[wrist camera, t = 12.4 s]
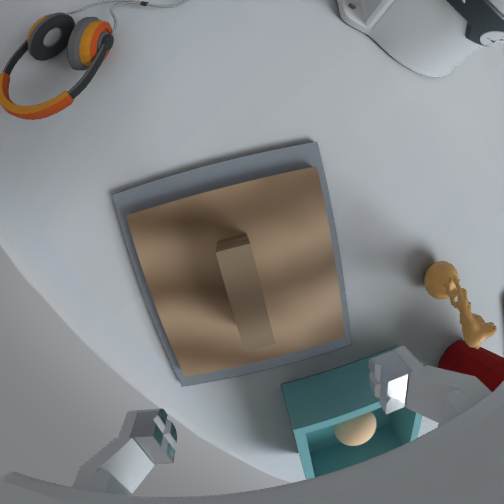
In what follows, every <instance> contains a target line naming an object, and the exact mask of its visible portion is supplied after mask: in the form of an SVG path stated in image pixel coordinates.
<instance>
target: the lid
mask: <svg viewBox="0 0 504 504" xmlns="http://www.w3.org/2000/svg"><path fill="white" fill-rule="evenodd" d="M126 217H127V221H128V224H129V228H130V231H131V235H132V238H133V241H134V245H135V248H136V251H137V254H138V257H139V260H140V264H141V267H142V270H143V273H144V275H145V278H146V281H147V284H148V287H149V290H150V293H151V295H152V298H153V301H154V304H155V306H156V309H157V312H158V314H159V317H160V319H161V322H162V325H163V327H164V330H165V332H166V335H167V337H168V339H169V342H170V344H171V347H172V349H173V351H174V354H175V356H176V358H177V361H178V363H179V365H180V367H181V370H182V372H183V374H184V376H185V377H187V376H193V375H198V374H204V373H209V372H214V371H219V370H224V369H228V368H233V367H238V366H242V365H246V364H251V363H255V362H259V361H263V360H267V359H271V358H275V357H279V356H282V355H286V354H290V353H293V352H297V351H300V350H304V349H307V348H311V347H314V346H317V345H321V344H324V343H327V342H330V341H333V340H337V339H340V338H343V337H345V330H344V321H343V313H342V305H341V298H340V290H339V283H338V277H337V270H336V264H335V257H334V251H333V246H332V240H331V234H330V229H329V223H328V218H327V213H326V208H325V203H324V198H323V193H322V188H321V184H320V179H319V175H318V170H317V166H316V167H310V168H305V169H301V170H296V171H291V172H286V173H282V174H277V175H273V176H268V177H264V178H260V179H256V180H251V181H247V182H243V183H239V184H235V185H231V186H227V187H223V188H219V189H215V190H212V191H208V192H204V193H200V194H197V195H193V196H190V197H186V198H182V199H179V200H176V201H172V202H169V203H165V204H162V205H159V206H155V207H152V208H149V209H145V210H142V211H139V212H136V213H133V214H130V215H127V216H126Z"/></svg>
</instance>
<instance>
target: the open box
mask: <svg viewBox="0 0 504 504" xmlns="http://www.w3.org/2000/svg"><path fill="white" fill-rule="evenodd" d="M396 348H398V346H395V347H393V348H390V349H388V350H385V351H383V352H380V353H378V354H375V355H373V356H370V357H367V358H365V359H362V360H359V361H356V362H353V363H351V364H348V365H345V366H342V367H339V368H336V369H333V370H330V371H327V372H323V373H320V374H317V375H314V376H310V377H307V378H303V379H300V380H296V381H293V382H289V383H285V384H282V385H281V387H282V391H283V395H284V399H285V403H286V407H287V410H288V414H289V418H290V422H291V426H292V430H293V433H294V437H295V441H296V445H297V449H298V452H299V456H300V460H301V463H302V467H303V471H304V474H305V478H306V480H307V479H311V478H315V477H318V476H322V475H325V474H328V473H332V472H335V471H338V470H341V469H344V468H347V467H350V466H353V465H356V464H359V463H361V462H364V461H367V460H369V459H372V458H374V457H377V456H379V455H382V454H384V453H386V452H389V451H391V450H393V449H395V448H398V447H400V446H402V445H404V444H406V443H408V442H411V441H413V440H415V439H417V436H418V432H419V428H420V424H421V419H422V415H420V414H418V413H416V412H414V411H412V410H410V409H408V408H406V406H405V407H403V408H401V409H398V410H396V411H393V412H391V413H388V414H385V412H384V410H383V409H382V407H381V406H380V404H379V398H378V397H375V396H374V394H373V393H372V390H371V388H370V384H369V374H370V373H371V370H370V369H369V365H368V362H369V359H371V358H374V357H377V356H379V355H382V354H384V353H387V352H389V351H392V350H394V349H396ZM371 411H372V412H373V414H374V416H375V418H376V430H375V432H374V434H373V436H372V437H371V438H370V439H369V440H368V441H367V442H365V443H363V444H361V445H357V446H349V445H345V444H343V443H342V442H340V441H339V440H338V439H337V437H336V435H335V432H334V425H335V424H338V423H341V422H344V421H346V420H349V419H352V418H355V417H357V416H360V415H363V414H365V413H368V412H371Z"/></svg>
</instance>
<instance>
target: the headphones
mask: <svg viewBox="0 0 504 504" xmlns="http://www.w3.org/2000/svg"><path fill="white" fill-rule="evenodd" d="M116 1H123V2H124V3H120V4H117V5H115V6H114V7H112V8H111V9H110V13H111V15H112V16H113V18H114V22H115V25H114V29H113V31H112V28H111V26H110V24H109V23H108V22H105V21H101V20H99V19H98V18H96V17H86V18H83V19H82V20H80V21H79V22H78V23H77V25H76V26H75V23H74V20H73V19H72V17H71V16H69V14H72V13H76V12H79V11H82V10H84V9H86V8H88V7H91V6H94V5H98V4H102V3H107V2H116ZM189 1H190V0H186V1H185V2H182V3H180V4H177V5H170V6H161V5H153V4H148V2H143V1H142V2H139V1H133V0H108V1H103V2H98V3H94V4H91V5H89V6H86V7H84V8H82V9H80V10H77V11H73V12H69V13H66V14H65V13H54V14H50V15H46V16H44V17H43V18H41V19H40V20H38V21H37V22H36V23H35V24H34V26H33V27H32V28H31V30H30V32H29V34H28V39H27V40H26V41H25V42H24V43H23V44H22V45H21V46H20V48H19V49H18V50H17V51H16V52H15V53H14V54H13V56H12V57H11V58H10V60H9V61H8V63H7V65H6V66H5V68H4V71H3V73H2V74H0V104H1V105H2V107H3V108H4V109H5V110H6V111H7V112H8V113H10V114H12V115H14V116H16V117H19V118H23V119H32V120H34V119H41V118H45V117H48V116H51V115H53V114H55V113H57V112H59V111H61V110H63V109H65V108H66V107H68V106H69V105H71V104H72V103H73V99H74V98H75V97H76V96H78V95H79V94H80V93H81V92H82V91H83V90H84V89H85V88H86V86H87V85H88V84H89V82H90V81H91V80H92V78H93V76H94V75H95V73H96V72H97V70H98V68H99V67H100V65H101V63H102V61H103V60H104V59H105V58H106V56H107V55H108V53H109V50H110V49H111V47H112V45H113V41H114V38H113V34H114V32H115V30H116V26H117V19H116V17H115V15H114V13H113V12H112V10H113V9H114V8H115V7H117V6H120V5H124V4H140V5H143V6H152V7H160V8H170V7H177V6H180V5H183V4H185V3H187V2H189ZM67 44H68V45H67ZM66 46H67V56H68V61H69V64H70V66H71V67H72V68H73V69H75V70H86V69H87V71H86V72H85V74H84V75H83V77H82V78H81V79H80V80H79V81H78V82H77V84H76V85H75V86H74V87H72V88H71V89H70V90H69V91H65V92H63V93H61V94H60V95H58V96H56V97H55V98H53V99H51V100H49V101H47V102H45V103H42V104H39V105H35V106H18V105H16V104H14V103H13V102H12V101H11V100H10V98H9V92H8V88H9V82H10V77H9V76H10V73H11V71H12V69H13V67H14V66H15V64H16V63H17V62H18V60H19V59H20V58H21V57H22V55H23V54H24V53H25V52H26V51H27V50H28V51H29V53H30V55H31V56H33V57H34V58H35V59H36V60H40V61H41V60H47V59H50V58H52V57H54V56H56V55H57V54H58V53H60V52H61V51H62V50H63V49H64V48H65V47H66Z"/></svg>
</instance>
